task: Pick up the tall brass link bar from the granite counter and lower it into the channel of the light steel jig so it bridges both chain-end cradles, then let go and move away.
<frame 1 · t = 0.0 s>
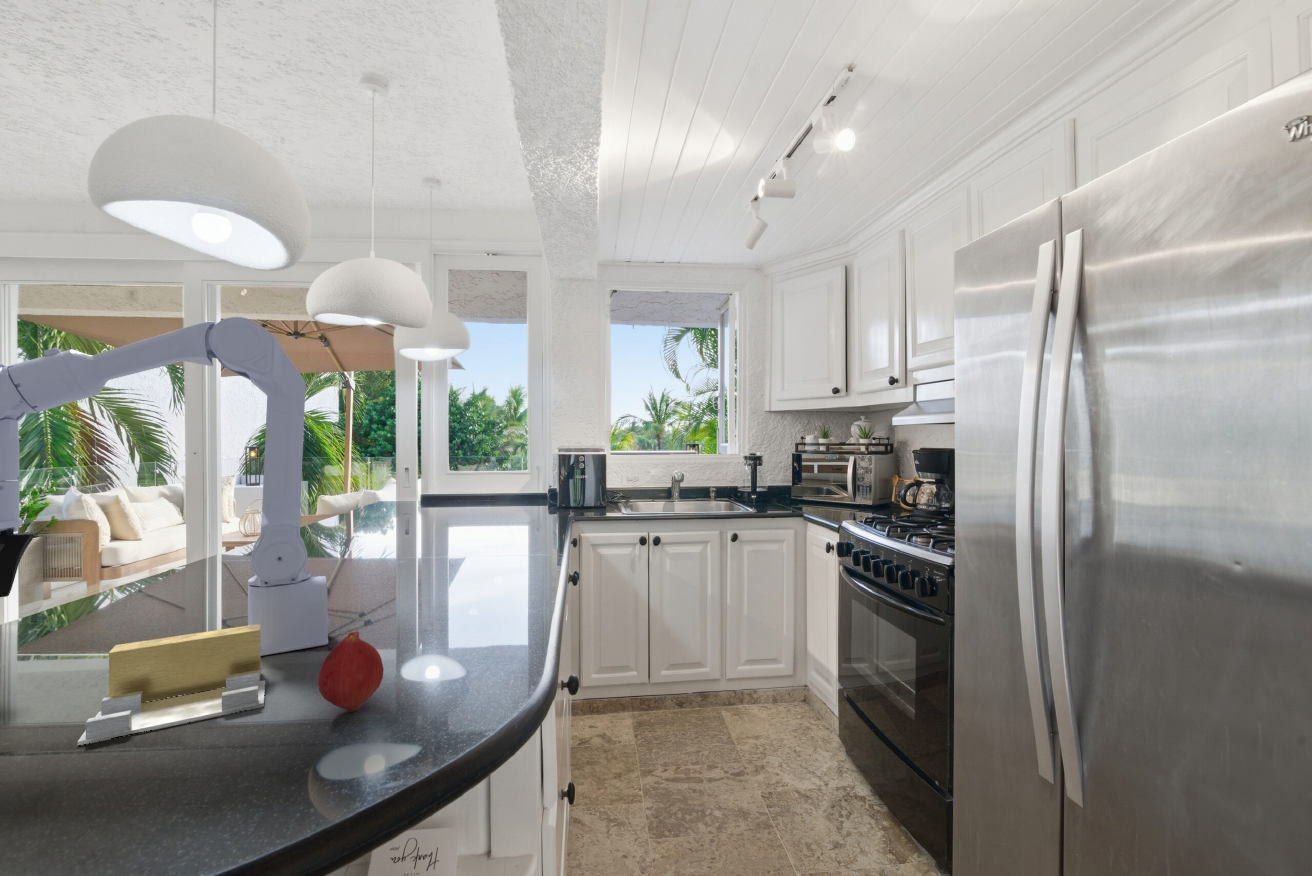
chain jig: (181, 712, 60), on the counter
onion: (352, 713, 59), on the counter
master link: (190, 691, 66), on the counter
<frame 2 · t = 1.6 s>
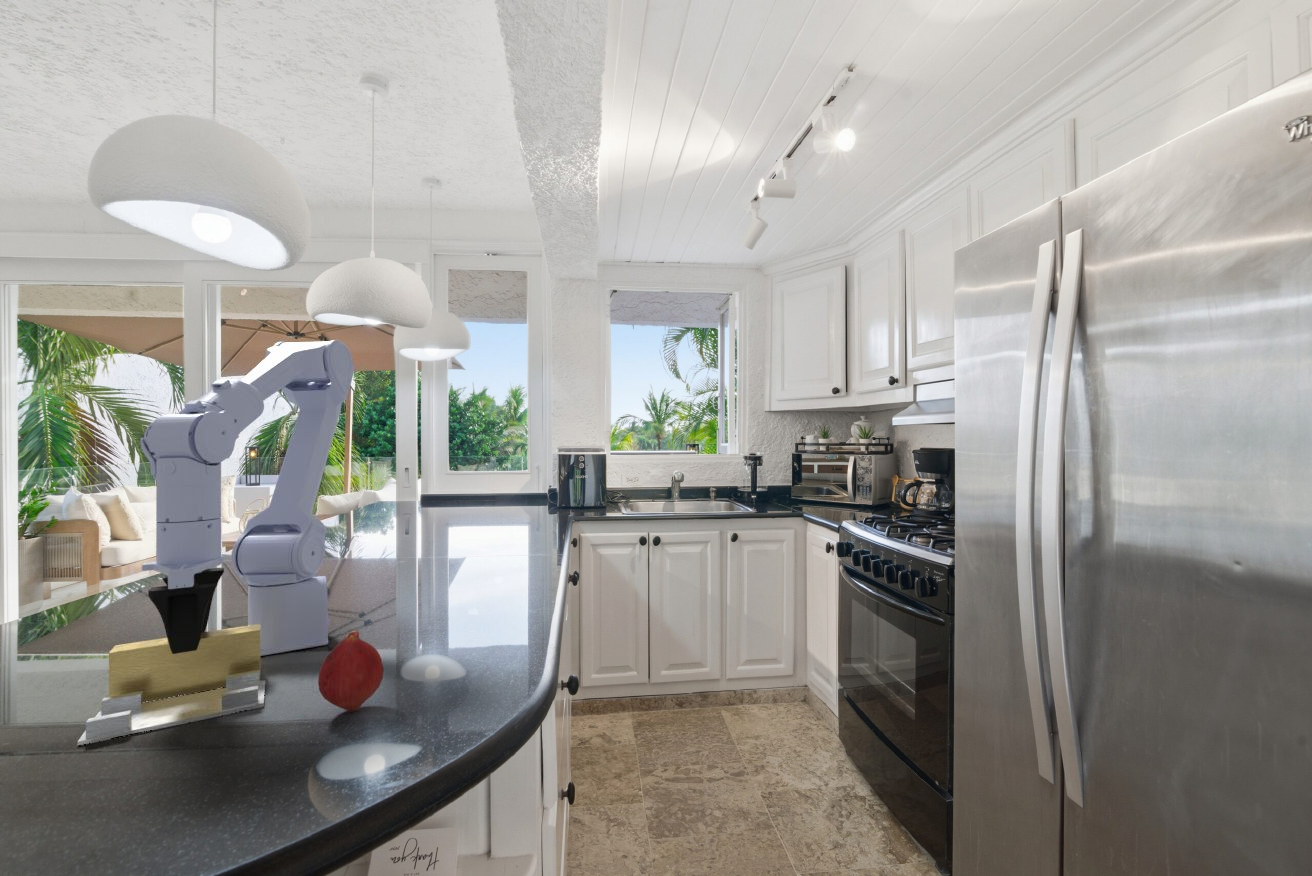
hand: (189, 642, 66), 5 cm above the counter, tool pointing down, fingers open, 7 cm apart
nothing on the counter moved.
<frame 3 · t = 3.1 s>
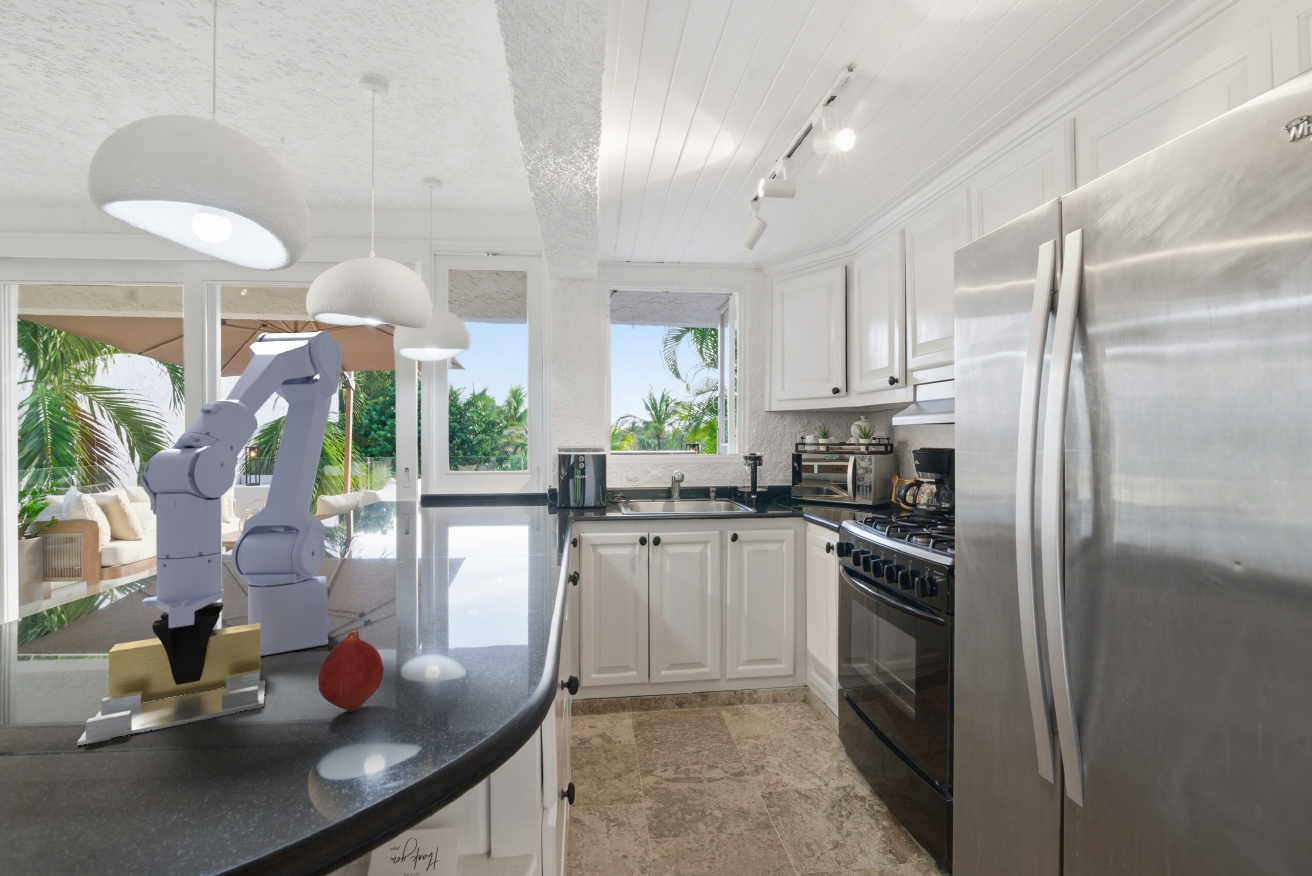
hand: (190, 676, 66), 1 cm above the counter, tool pointing down, fingers closed on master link, 3 cm apart
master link: (190, 690, 66), on the counter, touching gripper
everything else where it was.
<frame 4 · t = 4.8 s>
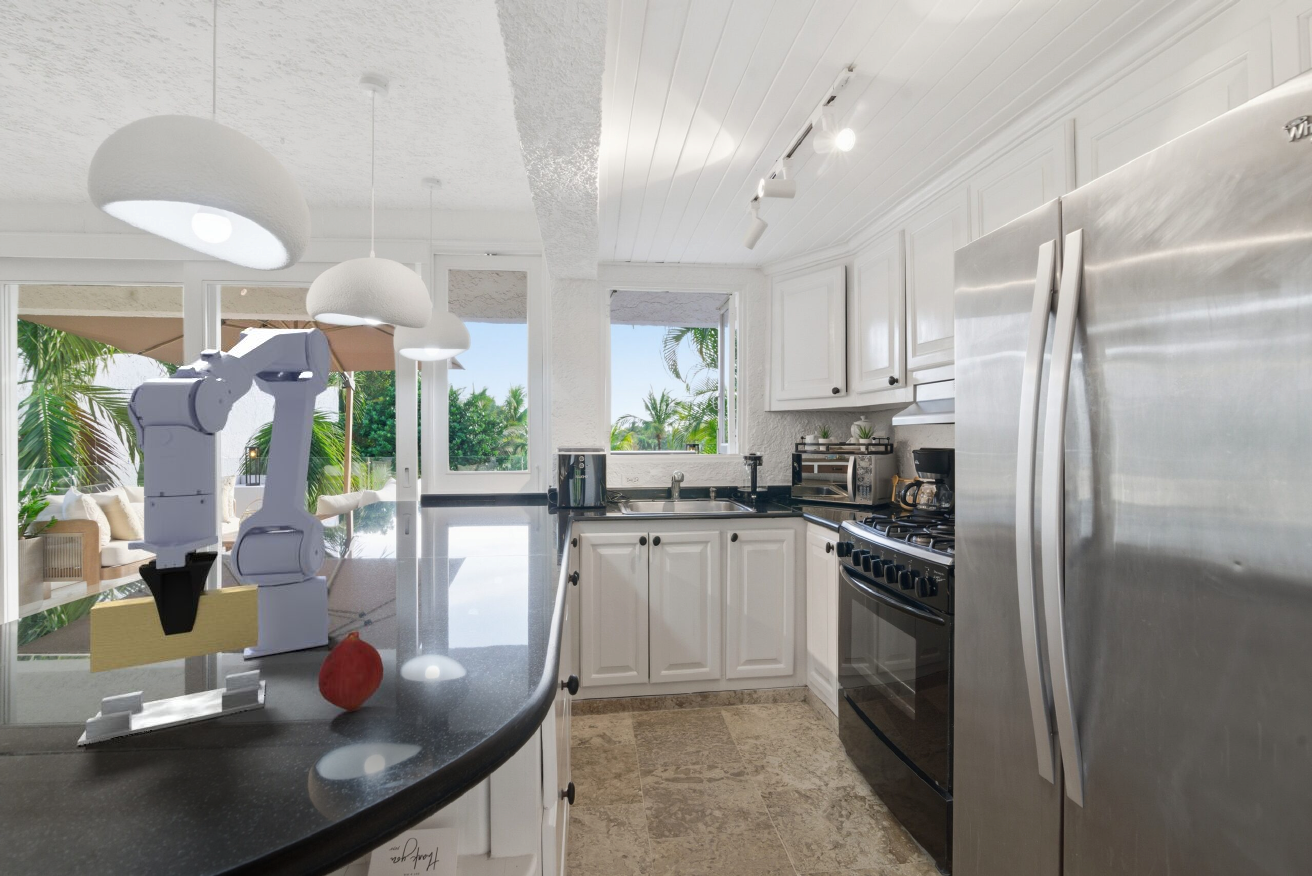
hand: (181, 628, 60), 8 cm above the counter, tool pointing down, fingers closed on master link, 3 cm apart
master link: (181, 654, 60), point 6 cm above the counter, touching gripper
everything else where it was.
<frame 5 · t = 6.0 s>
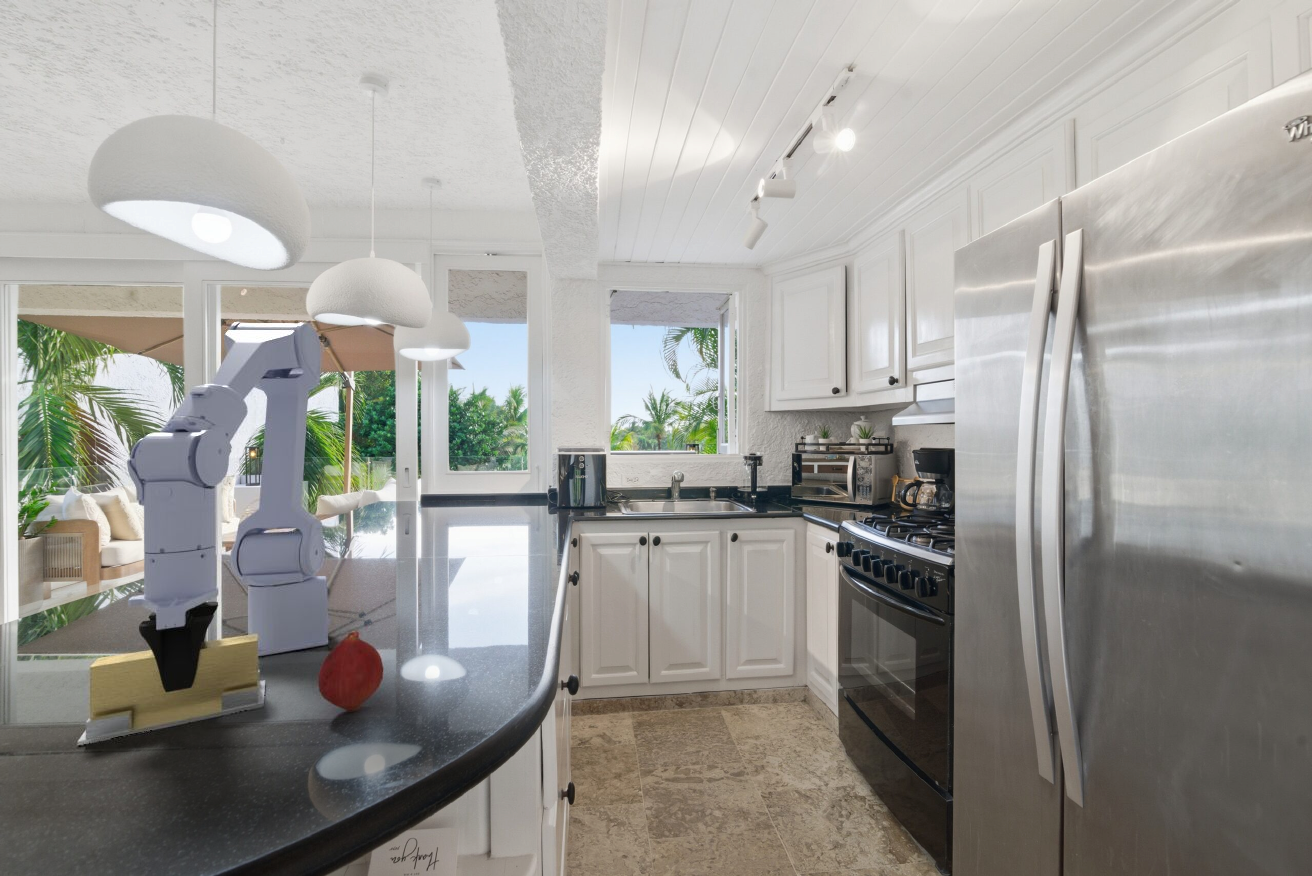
hand: (181, 683, 60), 3 cm above the counter, tool pointing down, fingers closed on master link, 3 cm apart
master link: (181, 708, 60), resting on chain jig, touching gripper
everything else where it was.
when the fingers open (3 cm above the counter, at t = 6.4 s): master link stays where it is, resting on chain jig.
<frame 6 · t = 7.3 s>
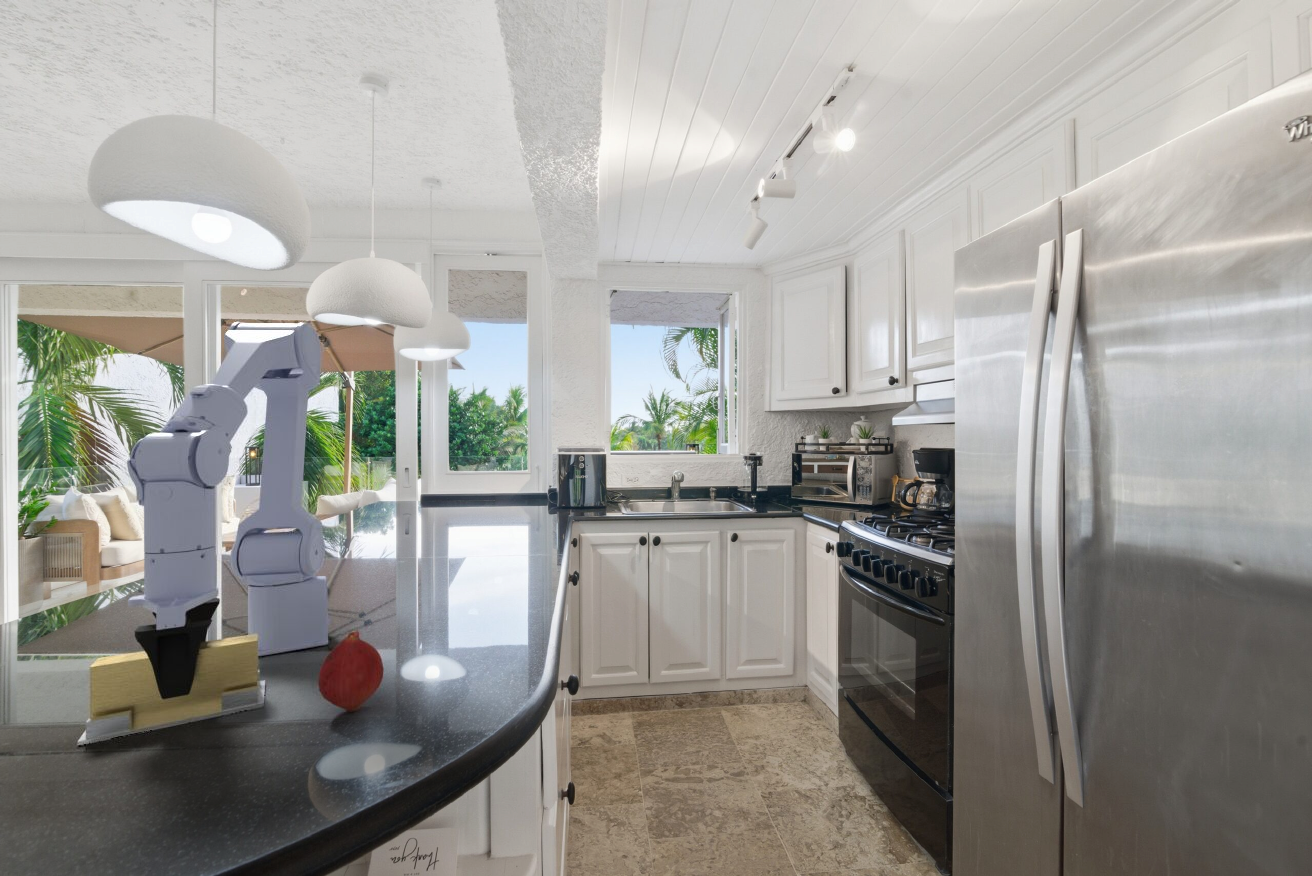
hand: (181, 683, 60), 3 cm above the counter, tool pointing down, fingers open, 7 cm apart
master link: (181, 708, 60), resting on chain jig
everything else where it was.
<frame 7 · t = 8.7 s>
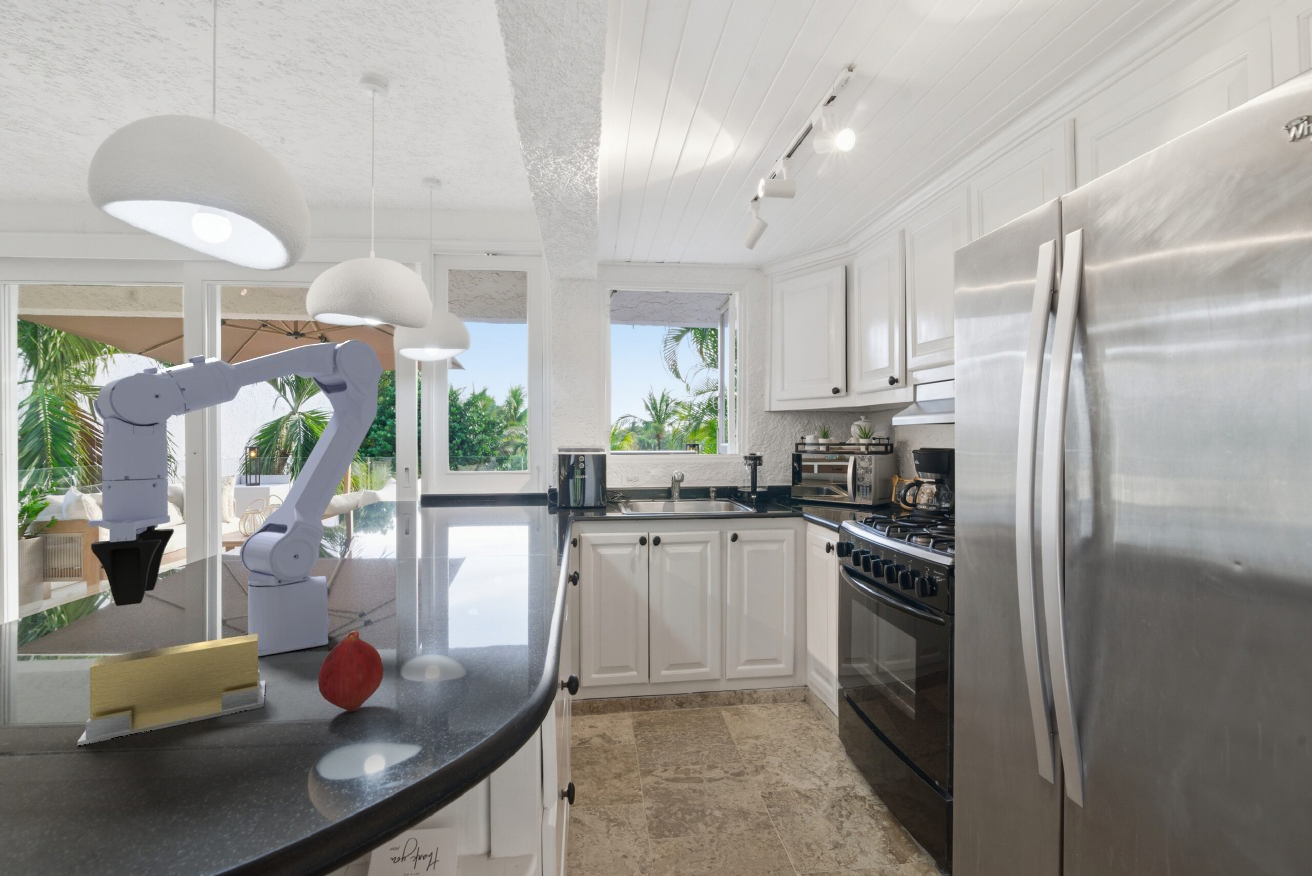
hand: (136, 597, 68), 10 cm above the counter, tool pointing down, fingers open, 7 cm apart
nothing on the counter moved.
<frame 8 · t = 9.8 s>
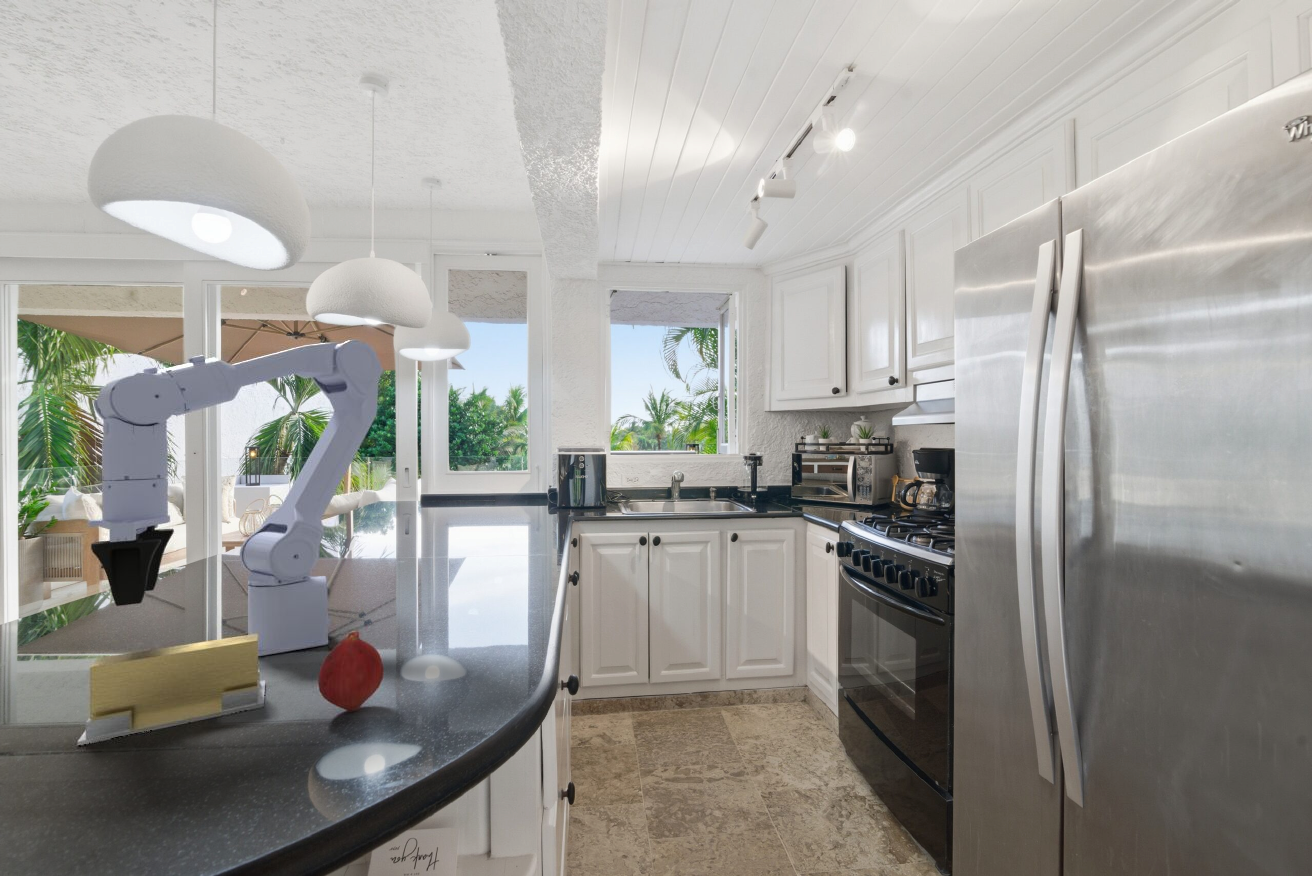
hand: (136, 597, 68), 10 cm above the counter, tool pointing down, fingers open, 7 cm apart
nothing on the counter moved.
at the end: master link 0.1 cm off-centre on the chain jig, point 0.4 cm above the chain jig's base; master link tilted 0°; the gripper is holding nothing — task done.
